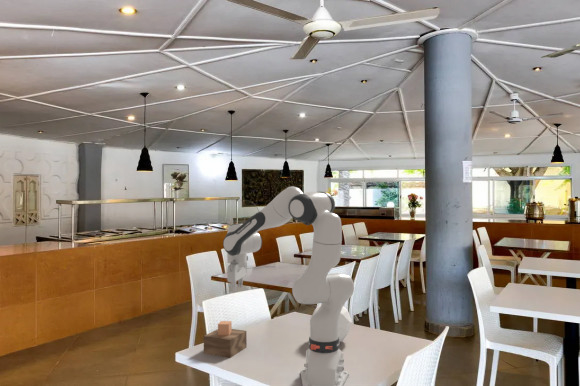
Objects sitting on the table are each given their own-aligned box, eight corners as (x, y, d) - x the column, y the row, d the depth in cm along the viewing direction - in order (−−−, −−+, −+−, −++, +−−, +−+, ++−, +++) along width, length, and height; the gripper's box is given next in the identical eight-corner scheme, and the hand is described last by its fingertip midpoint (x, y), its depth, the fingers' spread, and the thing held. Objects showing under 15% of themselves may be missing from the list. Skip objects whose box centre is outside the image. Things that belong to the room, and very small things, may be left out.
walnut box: (230, 358, 187) (230, 339, 187) (203, 354, 193) (203, 336, 193) (246, 348, 200) (246, 330, 200) (221, 344, 205) (220, 327, 206)
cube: (228, 335, 193) (228, 324, 193) (217, 335, 194) (217, 324, 194) (231, 332, 198) (231, 321, 198) (220, 331, 199) (220, 320, 199)
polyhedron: (337, 352, 211) (357, 317, 216) (337, 351, 193) (360, 312, 198) (304, 330, 216) (325, 296, 222) (302, 327, 198) (324, 290, 203)
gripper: (237, 261, 187) (237, 293, 187) (248, 256, 208) (249, 285, 207) (223, 261, 188) (223, 293, 188) (236, 256, 209) (236, 284, 208)
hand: (237, 289), depth 198 cm, fingers open, 8 cm apart
